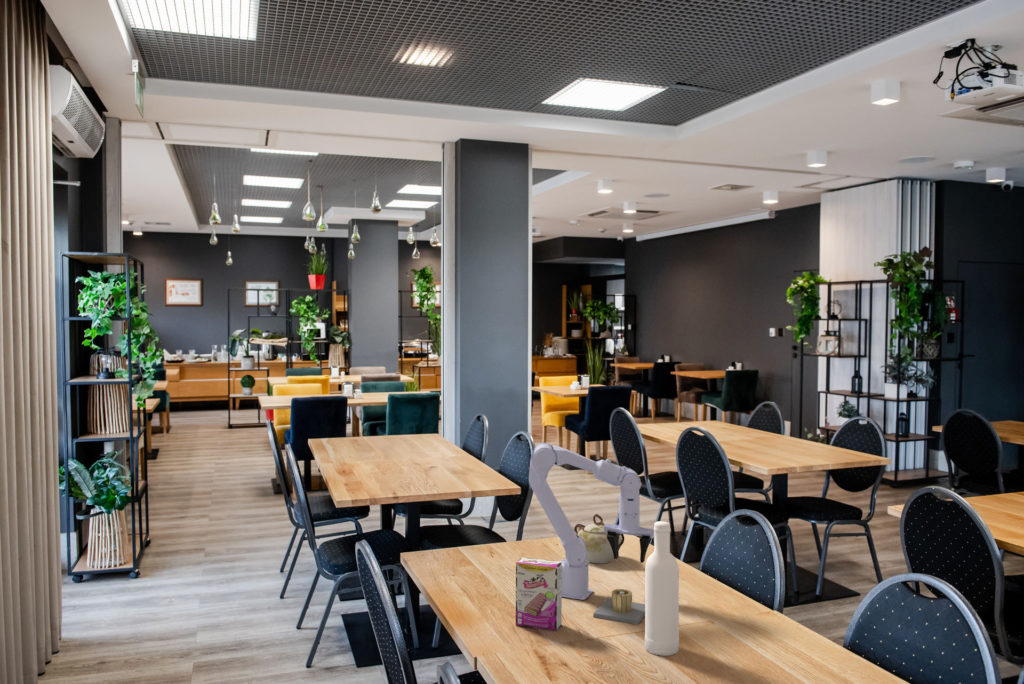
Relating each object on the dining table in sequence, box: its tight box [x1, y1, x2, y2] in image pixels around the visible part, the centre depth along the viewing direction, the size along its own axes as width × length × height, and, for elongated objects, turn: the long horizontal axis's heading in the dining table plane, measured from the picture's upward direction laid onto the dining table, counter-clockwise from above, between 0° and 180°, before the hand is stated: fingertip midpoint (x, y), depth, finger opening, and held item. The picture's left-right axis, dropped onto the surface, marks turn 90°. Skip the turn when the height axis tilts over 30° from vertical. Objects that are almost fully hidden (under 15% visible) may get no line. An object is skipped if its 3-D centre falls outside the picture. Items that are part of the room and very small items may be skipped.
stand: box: [592, 592, 645, 625], centre depth 199 cm, size 12×12×6 cm
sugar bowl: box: [573, 513, 625, 564], centre depth 245 cm, size 20×15×15 cm
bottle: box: [644, 520, 680, 657], centre depth 177 cm, size 8×8×30 cm
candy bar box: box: [515, 557, 563, 632], centre depth 191 cm, size 11×5×16 cm, turn 71°
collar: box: [611, 588, 633, 613], centre depth 199 cm, size 5×5×4 cm
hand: (629, 560), depth 213 cm, fingers open, 7 cm apart
